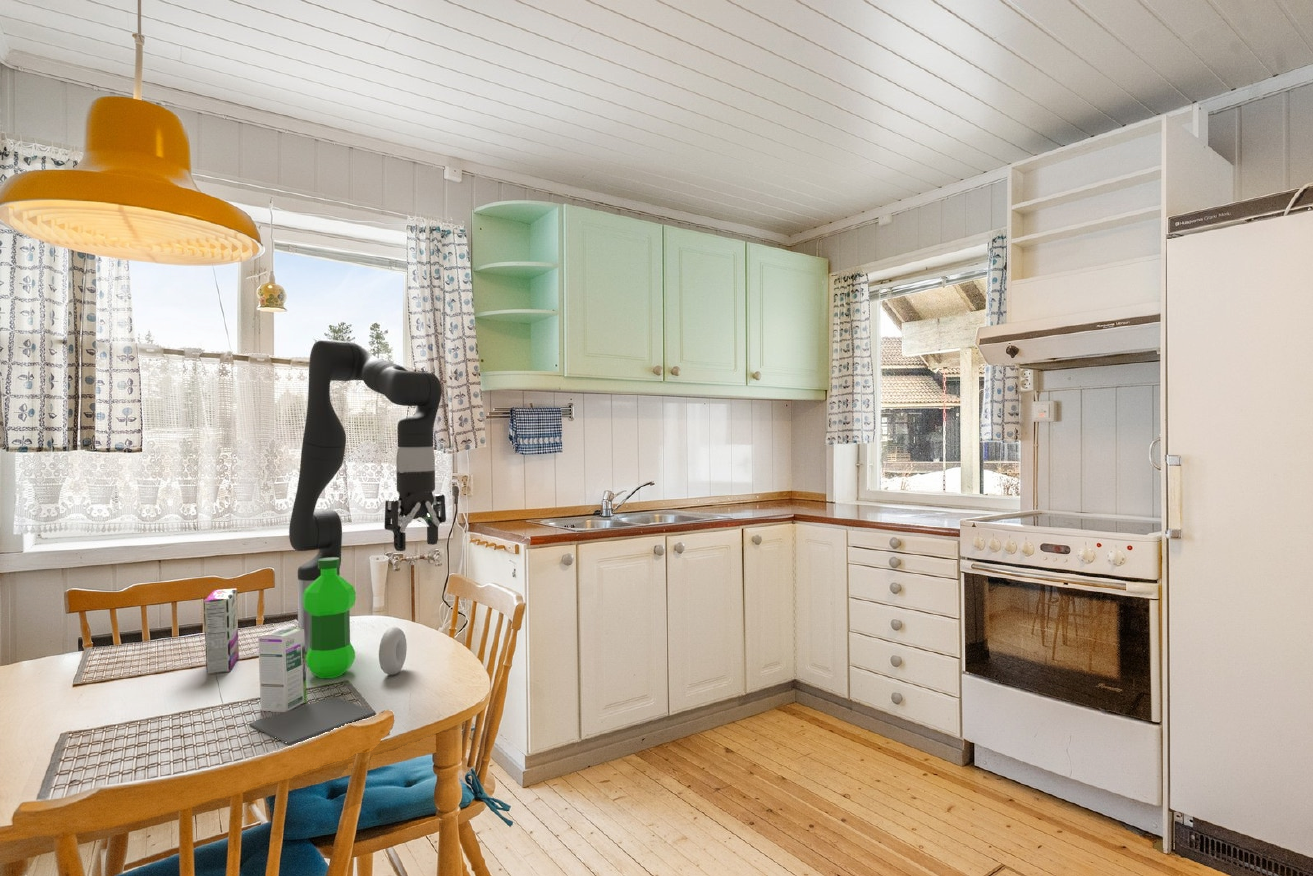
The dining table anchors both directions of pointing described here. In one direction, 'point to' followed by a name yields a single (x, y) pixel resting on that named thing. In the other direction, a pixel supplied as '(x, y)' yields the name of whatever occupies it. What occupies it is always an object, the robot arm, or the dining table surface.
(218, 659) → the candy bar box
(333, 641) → the plastic bottle
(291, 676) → the syrup box
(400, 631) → the donut
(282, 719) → the mat
